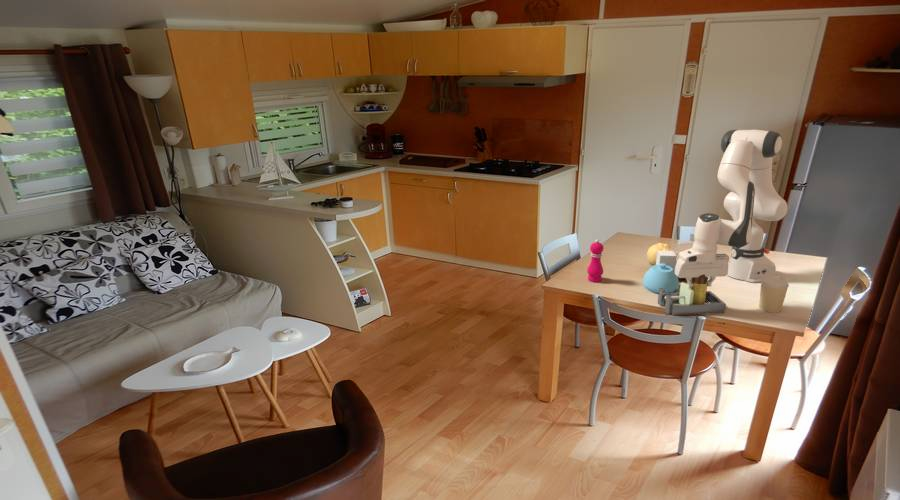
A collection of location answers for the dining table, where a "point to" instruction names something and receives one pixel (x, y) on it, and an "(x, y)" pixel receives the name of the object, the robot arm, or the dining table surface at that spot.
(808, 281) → the dining table surface
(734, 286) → the dining table surface
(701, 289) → the sauce bottle
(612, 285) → the dining table surface
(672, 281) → the blue upside-down bowl
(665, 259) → the supplement box
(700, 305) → the gray storage tray
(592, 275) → the pepper mill
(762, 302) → the coffee cup
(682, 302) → the pusher
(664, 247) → the sculpture
